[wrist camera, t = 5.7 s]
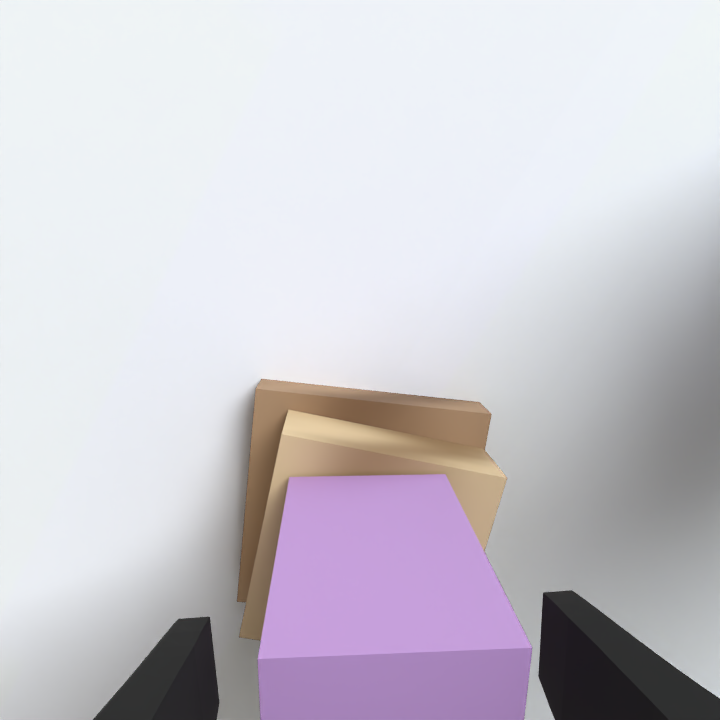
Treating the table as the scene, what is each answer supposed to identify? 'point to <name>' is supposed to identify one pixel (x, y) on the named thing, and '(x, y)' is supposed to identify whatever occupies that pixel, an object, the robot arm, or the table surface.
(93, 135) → the table surface
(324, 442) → the oak tile
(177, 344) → the table surface
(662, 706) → the robot arm
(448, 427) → the walnut tile
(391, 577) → the purple block
